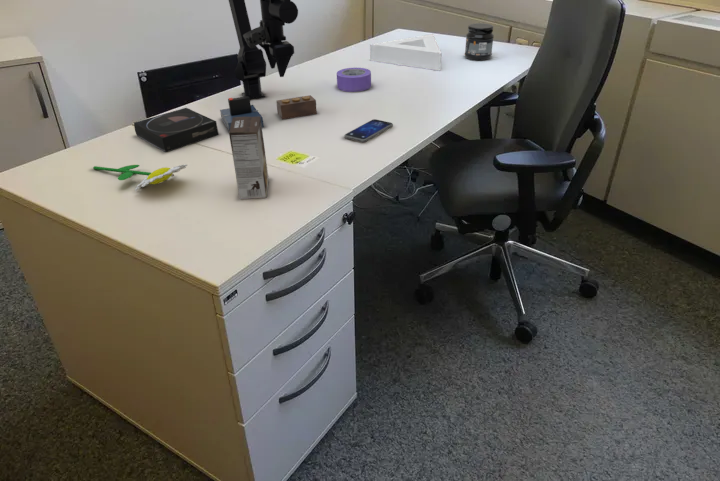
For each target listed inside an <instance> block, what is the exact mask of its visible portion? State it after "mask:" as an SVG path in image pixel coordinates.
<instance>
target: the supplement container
mask: <svg viewBox="0 0 720 481" xmlns="http://www.w3.org/2000/svg"><path fill="white" fill-rule="evenodd" d="M493 32H494V25H493V24H491V23H485V22H476V23H470V24H469V25H468V26H467V33H466V35H465V50H464V57H465V58H466V59H468V60H470V61H480V62H481V61H487V60H489V59H490V58H492V56H493V55H492V54H493V45H494V44H493V43H494V38H495V36H494V35H495V34H494V33H493Z"/></svg>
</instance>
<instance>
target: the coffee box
mask: <svg viewBox="0 0 720 481" xmlns="http://www.w3.org/2000/svg"><path fill="white" fill-rule="evenodd" d="M228 136H229V142H230V149H231V155H232V162H233V167H234V173H235V179H236V186H237V192H238V198H239V199H240V200H247V199H265V198H267V197H268V189H269V180H270V177H269V170H268V164H267V163H268V162H267V156H266V155H267V154H266V148H265V141H264V133H263V127H262V125H261V117H260V116H258V117H233V118H232V122H231V126H230V130H229V131H228Z"/></svg>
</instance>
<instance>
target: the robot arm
mask: <svg viewBox="0 0 720 481" xmlns="http://www.w3.org/2000/svg"><path fill="white" fill-rule="evenodd" d="M228 4H229V9H230V13H231V16H232V20H233V24H234V29H235V33H236V37H237V41H238V45H239V49H238V53H237V57H236V58H237V64H236V66H235V70H234V74H235V78H236V79H237V80H239V81H241V82H242V87H243V92H241V95H242V97H245V96H249V98H250V100H254V99H261V98H265V97H266V95H265V93H264V92H263V91H262V84H261V83H262V82H261V78H265V77H266V76H267V61H268V64H269V67H270V69H271V70H272V69H275V68H276V67H277V72H278V75H279V77H280V78H284V76H285V73H286V72H287V68H288V66H289V63H290V61H291V58H292V57H293V55H294V54H295V46H294V45H293V44H292V43H290V42H289V41H288V40H287V37H286V35H285V33H284V26H285V25H287V24H288V25H289V24H292V23H294V22H295V21H296V20H297V18H298V15H299V8H298V7H297V4H296V3H295V2H294V1H292V0H259V4H260V14H261V20H260V19H259V20H260V21H259V26H257V27H255V28H252V26H251V21H250V17H249V14H248V9H247V5H246V2H245V0H228ZM258 45H259V47H261V48H259V47H258ZM262 49H263V50H264V52H265V55H266V58H267V61H266V59H265V56H264V52H263V50H262Z"/></svg>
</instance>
